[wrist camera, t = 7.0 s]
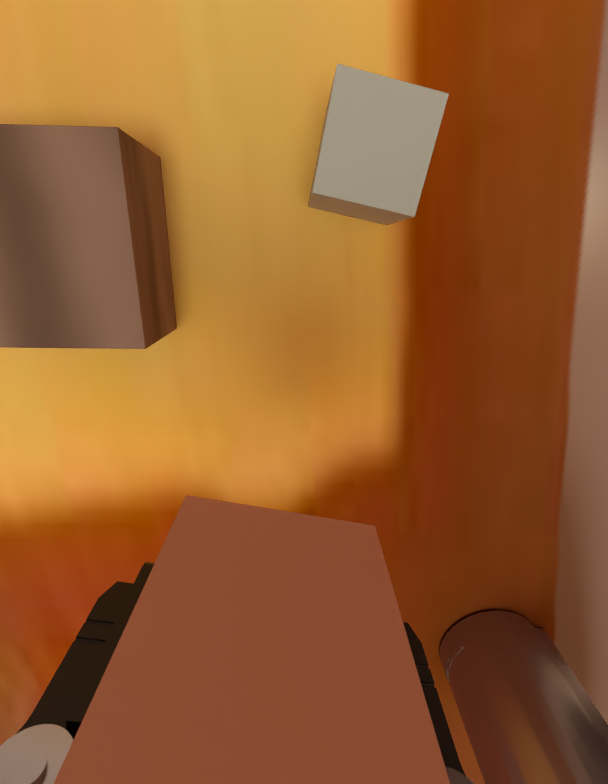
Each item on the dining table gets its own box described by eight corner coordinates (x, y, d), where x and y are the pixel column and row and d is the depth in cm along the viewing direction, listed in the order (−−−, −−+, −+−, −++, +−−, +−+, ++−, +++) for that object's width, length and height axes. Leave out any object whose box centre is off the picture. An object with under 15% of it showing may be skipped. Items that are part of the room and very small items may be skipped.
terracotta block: (374, 525, 10) (471, 854, 5) (332, 658, 12) (365, 1023, 6) (186, 495, 10) (38, 817, 4) (168, 636, 11) (44, 1006, 6)
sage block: (409, 133, 22) (448, 93, 17) (386, 225, 24) (414, 216, 18) (326, 111, 22) (337, 63, 16) (307, 206, 24) (312, 192, 18)
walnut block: (161, 158, 23) (117, 127, 17) (177, 328, 26) (145, 348, 20) (-13, 154, 22) (-116, 121, 17) (26, 326, 26) (-49, 346, 20)
